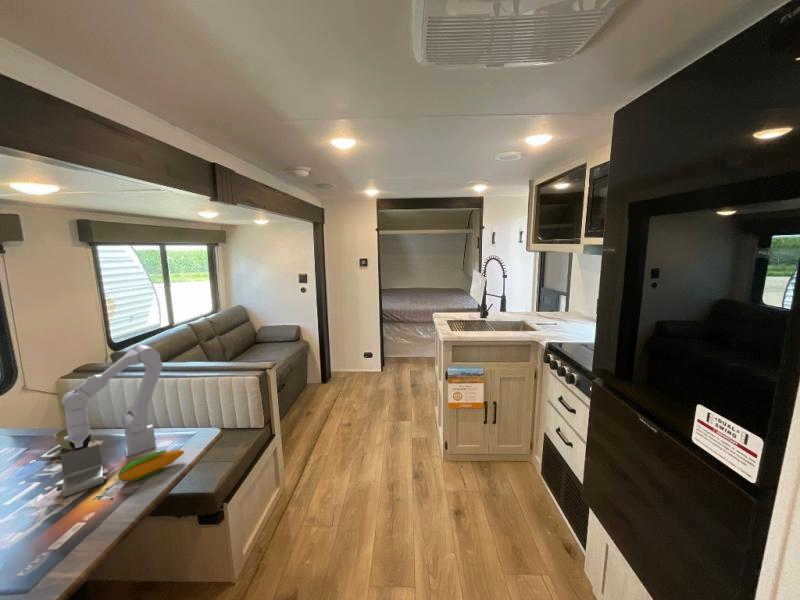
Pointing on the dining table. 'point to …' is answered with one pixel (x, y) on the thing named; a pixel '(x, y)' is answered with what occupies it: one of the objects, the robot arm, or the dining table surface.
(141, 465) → the corn
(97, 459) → the lid
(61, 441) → the flower pot
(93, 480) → the cooker
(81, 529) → the dining table surface
